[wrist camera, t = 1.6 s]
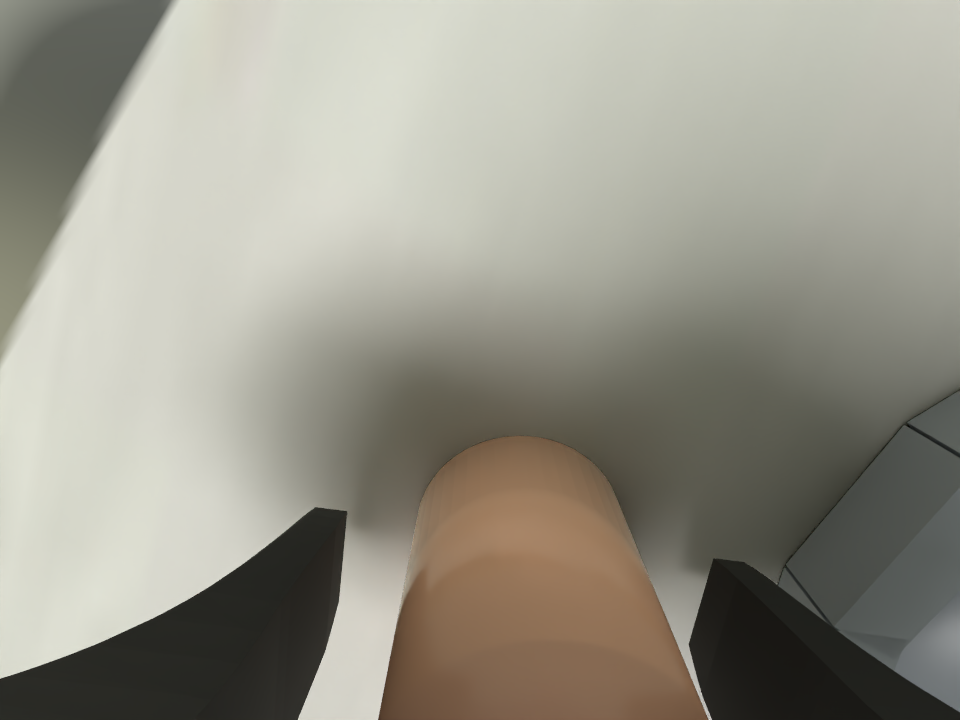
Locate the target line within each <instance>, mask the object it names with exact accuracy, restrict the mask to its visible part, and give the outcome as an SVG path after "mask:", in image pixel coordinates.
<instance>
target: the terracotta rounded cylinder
mask: <svg viewBox="0 0 960 720" xmlns="http://www.w3.org/2000/svg"><path fill="white" fill-rule="evenodd" d="M378 720H708V718H707V715H706V713H705V710H704V708H703V706H702V703H701V701H700V698H699V696H698V694H697V691H696V689H695V686H694V684H693V681H692V679H691V677H690V674H689V672H688V669H687V667H686V664H685V662H684V660H683V657H682V655H681V652H680V650H679V648H678V645H677V643H676V640H675V638H674V635H673V633H672V631H671V628H670V626H669V623H668V621H667V618H666V616H665V614H664V611H663V609H662V606H661V604H660V602H659V599H658V597H657V594H656V592H655V589H654V587H653V585H652V582H651V580H650V577H649V575H648V572H647V570H646V568H645V565H644V563H643V560H642V558H641V556H640V553H639V551H638V548H637V546H636V543H635V541H634V539H633V536H632V534H631V531H630V529H629V526H628V524H627V522H626V519H625V517H624V514H623V512H622V510H621V507H620V505H619V502H618V500H617V497H616V495H615V493H614V491H613V489H612V487H611V485H610V483H609V482H608V480H607V479H606V477H605V475H604V474H603V473H602V472H601V471H600V470H599V469H598V467H597V466H596V465H595V464H594V463H592V462H591V461H590V460H589V459H588V458H587V457H585V456H584V455H582V454H581V453H579V452H578V451H576V450H575V449H572V448H570V447H568V446H566V445H564V444H562V443H559V442H556V441H553V440H550V439H545V438H540V437H533V436H507V437H501V438H495V439H491V440H488V441H485V442H481V443H479V444H477V445H474V446H472V447H470V448H468V449H466V450H464V451H463V452H461V453H459V454H458V455H456V456H455V457H454V458H452V459H451V460H450V461H448V462H447V463H446V464H445V465H444V466H443V467H442V468H441V469H440V470H439V471H438V472H437V474H436V475H435V476H434V478H433V479H432V480H431V482H430V483H429V485H428V487H427V489H426V491H425V492H424V494H423V497H422V500H421V503H420V506H419V510H418V515H417V520H416V526H415V531H414V536H413V541H412V547H411V552H410V557H409V562H408V567H407V573H406V578H405V583H404V588H403V593H402V599H401V604H400V609H399V614H398V620H397V625H396V630H395V635H394V640H393V646H392V651H391V656H390V661H389V666H388V672H387V677H386V682H385V687H384V693H383V698H382V703H381V708H380V713H379V719H378Z"/></svg>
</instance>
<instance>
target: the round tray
mask: <svg viewBox="0 0 960 720" xmlns="http://www.w3.org/2000/svg"><path fill="white" fill-rule="evenodd" d="M907 423H908V425H909V426H910V428H911V429H910V428H909V427H907V426H905V425H903V427H902V428H901V429H900V430H899V431H898V432H897V434H896V435H895V436H894V437H893V438H892V440H891V441H890V442H889V443H888V444H887V445H886V447H885V448H884V449H883V450H882V451H881V453H880V454H879V455H878V456H877V457H876V458H875V460H874V461H873V462H872V463H871V464H870V465H869V467H868V468H867V469H866V470H865V471H864V473H863V474H862V475H861V476H860V477H859V478H858V480H857V481H856V482H855V483H854V484H853V486H852V487H851V488H850V489H849V490H848V491H847V493H846V494H845V495H844V496H843V497H842V499H841V500H840V501H839V502H838V503H837V504H836V506H835V507H834V508H833V509H832V510H831V511H830V513H829V514H828V515H827V516H826V517H825V519H824V520H823V521H822V522H821V523H820V524H819V526H818V527H817V528H816V529H815V530H814V532H813V533H812V534H811V535H810V536H809V537H808V539H807V540H806V541H805V542H804V543H803V545H802V546H801V547H800V548H799V549H798V550H797V552H796V553H795V554H794V555H793V556H792V557H791V559H790V560H789V561H788V562H787V563H786V566H787V567H788V568H786V567H784V569H783V572H782V575H781V578H780V581H779V584H778V586H779V587H780V588H782V589H783V590H784V591H786V592H787V593H788V594H790V595H791V596H792V597H794V598H795V599H796V600H798V601H799V602H800V603H801V604H803V605H804V606H805V607H807V608H808V609H809V610H811V611H812V612H813V613H815V614H816V615H817V616H818V617H820V618H821V619H822V620H824V621H825V622H826V623H828V624H829V625H830V626H832V627H833V628H834V629H836V630H837V631H838V632H840V633H841V634H843V635H844V636H845V637H847V638H848V639H849V640H851V641H852V642H854V643H855V644H856V645H858V646H859V647H860V648H862V649H863V650H865V651H866V652H868V653H869V654H870V655H872V656H873V657H875V658H876V659H878V660H879V661H881V662H882V663H883V664H885V665H886V666H888V667H889V668H891V669H892V670H894V671H895V672H896V673H898V674H899V675H901V676H902V677H904V678H906V679H907V680H909V681H910V682H912V683H913V684H915V685H916V686H918V687H919V688H921V689H923V690H924V691H926V692H928V693H929V694H931V695H933V696H934V697H936V698H937V699H939V700H941V701H942V702H944V703H946V704H947V705H949V706H950V707H952V708H954V709H955V710H957V711H959V712H960V390H959V391H958V392H956V393H954V394H953V395H951V396H949V397H948V398H946V399H944V400H943V401H941V402H940V403H938V404H936V405H935V406H933V407H931V408H930V409H928V410H926V411H925V412H923V413H921V414H920V415H918V416H916V417H915V418H913V419H911V420H910V421H908V422H907Z"/></svg>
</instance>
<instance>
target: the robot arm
mask: <svg viewBox="0 0 960 720" xmlns="http://www.w3.org/2000/svg"><path fill="white" fill-rule="evenodd" d="M346 518H347V511H340V510H333V509H325V508H317V507H315V508H314V509H312V510H311V511H310V512H308V513H307V514H306V515H305V516H303V517H302V518H301V519H300V520H299V521H297V522H296V523H295V524H294V525H293V526H291V527H290V528H289V529H288V530H286V531H285V532H284V533H283V534H282V535H280V536H279V537H278V538H277V539H275V540H274V541H273V542H272V543H270V544H269V545H268V546H266V547H265V548H264V549H262V550H261V551H260V552H258V553H257V554H256V555H255V556H253V557H252V558H251V559H249V560H248V561H247V562H245V563H244V564H242V565H241V566H240V567H238V568H237V569H235V570H234V571H232V572H231V573H229V574H228V575H226V576H225V577H223V578H222V579H221V580H219V581H218V582H216V583H215V584H213V585H212V586H210V587H209V588H207V589H205V590H204V591H202V592H200V593H199V594H197V595H195V596H194V597H192V598H190V599H188V600H187V601H185V602H183V603H181V604H179V605H177V606H176V607H174V608H172V609H170V610H168V611H167V612H165V613H163V614H161V615H159V616H157V617H155V618H153V619H151V620H149V621H146V622H144V623H142V624H140V625H138V626H136V627H133V628H131V629H129V630H127V631H125V632H123V633H120V634H118V635H116V636H114V637H112V638H110V639H107V640H105V641H103V642H101V643H98V644H96V645H94V646H91V647H88V648H86V649H83V650H81V651H78V652H76V653H73V654H71V655H68V656H66V657H63V658H60V659H57V660H55V661H52V662H49V663H46V664H43V665H41V666H38V667H35V668H32V669H29V670H26V671H23V672H20V673H17V674H14V675H11V676H8V677H4V678H1V679H0V720H298V717H299V715H300V712H301V710H302V707H303V705H304V703H305V700H306V698H307V695H308V693H309V690H310V688H311V685H312V683H313V680H314V678H315V675H316V673H317V670H318V668H319V665H320V663H321V660H322V658H323V655H324V653H325V650H326V646H327V643H328V639H329V636H330V632H331V629H332V625H333V621H334V617H335V614H336V610H337V606H338V602H339V593H340V583H341V572H342V561H343V550H344V539H345V529H346ZM689 647H690V651H691V655H692V659H693V663H694V667H695V671H696V675H697V678H698V682H699V685H700V689H701V692H702V696H703V698H704V701H705V703H706V706H707V708H708V711H709V713H710V716H711V718H712V720H960V712H959V711H957V710H955V709H954V708H952V707H950V706H949V705H947V704H946V703H944V702H942V701H941V700H939V699H937V698H936V697H934V696H933V695H931V694H929V693H928V692H926V691H924V690H923V689H921V688H919V687H918V686H916V685H915V684H913V683H912V682H910V681H909V680H907V679H906V678H904V677H902V676H901V675H899V674H898V673H896V672H895V671H894V670H892V669H891V668H889V667H888V666H886V665H885V664H883V663H882V662H881V661H879V660H878V659H876V658H875V657H873V656H872V655H870V654H869V653H868V652H866V651H865V650H863V649H862V648H860V647H859V646H858V645H856V644H855V643H854V642H852V641H851V640H849V639H848V638H847V637H845V636H844V635H843V634H841V633H840V632H838V631H837V630H836V629H834V628H833V627H832V626H830V625H829V624H828V623H826V622H825V621H824V620H822V619H821V618H820V617H818V616H817V615H816V614H815V613H813V612H812V611H811V610H809V609H808V608H807V607H805V606H804V605H803V604H801V603H800V602H799V601H798V600H796V599H795V598H794V597H792V596H791V595H790V594H788V593H787V592H786V591H784V590H783V589H782V588H780V587H779V586H778V585H776V584H775V583H774V582H772V581H771V580H770V579H768V578H767V577H766V576H764V575H763V574H761V573H760V572H759V571H757V570H756V569H754V568H753V567H751V566H749V565H748V564H746V563H744V562H739V561H731V560H723V559H715V558H713V562H712V565H711V569H710V572H709V576H708V579H707V583H706V586H705V590H704V593H703V597H702V600H701V604H700V607H699V611H698V614H697V618H696V621H695V624H694V628H693V631H692V635H691V638H690V642H689Z"/></svg>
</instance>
